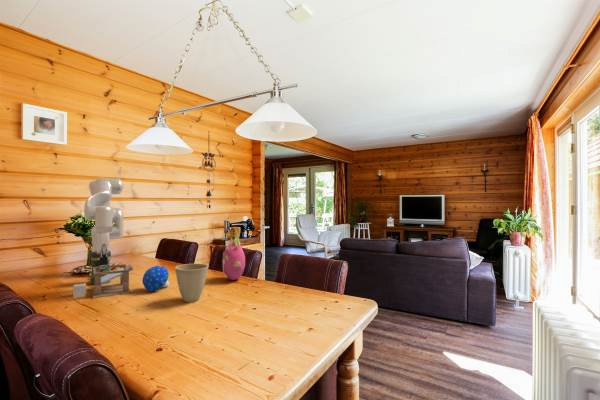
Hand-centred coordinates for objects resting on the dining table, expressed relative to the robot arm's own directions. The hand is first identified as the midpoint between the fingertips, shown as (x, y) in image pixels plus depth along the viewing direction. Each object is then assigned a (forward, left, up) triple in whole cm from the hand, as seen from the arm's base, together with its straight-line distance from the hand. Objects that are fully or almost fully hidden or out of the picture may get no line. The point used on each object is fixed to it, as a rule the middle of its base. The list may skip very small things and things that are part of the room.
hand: (103, 263), depth 158 cm
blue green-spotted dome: (+11, +24, -15) cm, 30 cm away
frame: (0, +4, -15) cm, 15 cm away
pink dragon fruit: (+14, +66, -15) cm, 69 cm away
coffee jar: (-21, 0, -15) cm, 26 cm away
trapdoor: (0, +6, -7) cm, 9 cm away
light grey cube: (0, -10, -10) cm, 14 cm away
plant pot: (+38, +35, -15) cm, 53 cm away
